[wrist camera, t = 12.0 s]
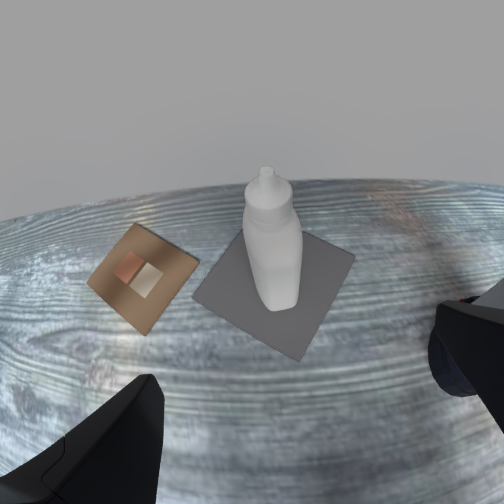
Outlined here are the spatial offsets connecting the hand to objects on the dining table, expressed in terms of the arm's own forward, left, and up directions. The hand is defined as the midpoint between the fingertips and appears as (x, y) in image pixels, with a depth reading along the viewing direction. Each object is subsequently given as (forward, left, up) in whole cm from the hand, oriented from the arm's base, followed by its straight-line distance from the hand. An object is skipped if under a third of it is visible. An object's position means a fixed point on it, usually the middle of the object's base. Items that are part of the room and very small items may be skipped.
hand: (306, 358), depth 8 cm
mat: (+6, -7, -14) cm, 16 cm away
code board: (+17, -1, -14) cm, 21 cm away
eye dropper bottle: (+5, -7, -13) cm, 16 cm away
